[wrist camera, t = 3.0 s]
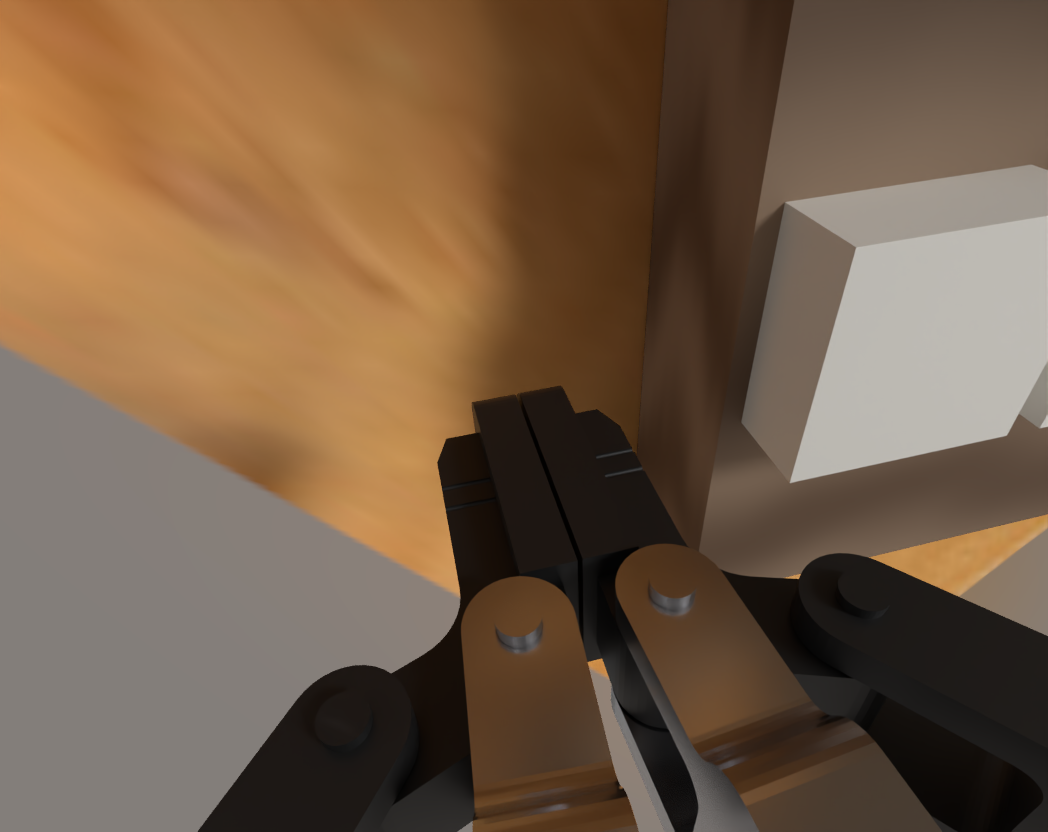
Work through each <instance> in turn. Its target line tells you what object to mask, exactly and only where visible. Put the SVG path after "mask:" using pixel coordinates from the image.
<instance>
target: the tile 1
mask: <svg viewBox="0 0 1048 832" xmlns="http://www.w3.org/2000/svg"><path fill="white" fill-rule="evenodd" d="M1047 361H1048V170H1046V169H1043V168H1040V167H1037V166H1034V165H1025V166H1019V167H1012V168H1006V169H999V170H993V171H986V172H979V173H973V174H966V175H960V176H953V177H947V178H940V179H934V180H927V181H920V182H914V183H907V184H901V185H894V186H888V187H881V188H874V189H868V190H861V191H855V192H848V193H842V194H835V195H828V196H822V197H815V198H809V199H802V200H796V201H789V202H785V205H784V210H783V215H782V220H781V225H780V230H779V235H778V240H777V245H776V250H775V255H774V260H773V265H772V270H771V275H770V280H769V285H768V290H767V295H766V300H765V305H764V310H763V315H762V321H761V326H760V331H759V336H758V341H757V346H756V351H755V356H754V361H753V366H752V371H751V376H750V381H749V386H748V391H747V396H746V401H745V406H744V411H743V416H742V421H741V423H742V424H743V425H744V426H745V428H746V429H747V430H748V431H749V433H750V434H751V435H752V436H753V438H754V439H755V440H756V441H757V443H758V444H759V445H760V447H761V448H762V449H763V450H764V452H765V453H766V454H767V455H768V457H769V458H770V459H771V460H772V462H773V463H774V464H775V465H776V467H777V468H778V469H779V470H780V472H781V473H782V474H783V475H784V477H785V478H786V479H787V480H788V482H789V483H793V482H797V481H802V480H806V479H811V478H815V477H820V476H825V475H829V474H834V473H838V472H843V471H847V470H852V469H857V468H861V467H866V466H870V465H875V464H879V463H884V462H889V461H893V460H898V459H902V458H907V457H911V456H916V455H921V454H925V453H930V452H934V451H939V450H943V449H948V448H953V447H957V446H962V445H966V444H971V443H975V442H980V441H985V440H989V439H994V438H998V437H1003V436H1007V434H1008V432H1009V431H1010V429H1011V427H1012V425H1013V423H1014V421H1015V420H1016V418H1017V416H1018V414H1019V412H1020V410H1021V409H1022V407H1023V405H1024V403H1025V401H1026V399H1027V398H1028V396H1029V394H1030V392H1031V390H1032V389H1033V387H1034V385H1035V383H1036V381H1037V379H1038V378H1039V376H1040V374H1041V372H1042V370H1043V368H1044V367H1045V365H1046V363H1047Z"/></svg>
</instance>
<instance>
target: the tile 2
mask: <svg viewBox="0 0 1048 832" xmlns="http://www.w3.org/2000/svg"><path fill="white" fill-rule="evenodd" d="M1019 414H1020V415H1022V416H1023V417H1024V418H1026V419H1027V420H1028V421H1030V422H1031V423H1033V424H1034V425H1035V426H1037V427H1038V428H1044V427H1048V361H1047V363H1046V365H1045V367H1044V368H1043V370H1042V372H1041V374H1040V376H1039V378H1038V379H1037V381H1036V383H1035V385H1034V387H1033V389H1032V390H1031V392H1030V394H1029V396H1028V398H1027V399H1026V401H1025V403H1024V405H1023V407H1022V409H1021V410H1020V412H1019Z"/></svg>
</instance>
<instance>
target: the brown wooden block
mask: <svg viewBox="0 0 1048 832" xmlns="http://www.w3.org/2000/svg"><path fill="white" fill-rule="evenodd" d="M1025 165H1034V166H1037V167H1040V168H1043V169H1046V170H1048V0H668V14H667V28H666V43H665V57H664V72H663V86H662V101H661V115H660V130H659V144H658V159H657V173H656V188H655V202H654V217H653V231H652V246H651V260H650V275H649V289H648V304H647V318H646V333H645V347H644V362H643V376H642V391H641V405H640V420H639V434H638V449H637V458H638V460H639V461H640V463H641V465H642V469H643V471H645V472H646V474H647V476H648V478H649V479H650V481H651V483H652V485H653V487H654V488H655V490H656V492H657V494H658V496H659V497H660V499H661V501H662V503H663V504H664V506H665V508H666V510H667V512H668V513H669V515H670V517H671V519H672V521H673V522H674V524H675V526H676V528H677V530H678V531H679V533H680V535H681V537H682V539H683V540H684V542H685V543H686V544H687V546H688V547H689V548H691V549H694V550H696V551H698V552H700V553H702V554H703V555H705V556H706V557H708V558H709V559H710V560H711V561H713V562H714V563H715V564H716V565H717V566H718V568H719V569H721V570H724V571H727V572H729V573H734V574H738V575H744V576H754V577H770V578H785V577H789V576H793V575H797V574H801V573H802V571H803V570H804V568H805V567H806V566H807V565H808V564H809V563H810V562H811V561H813V560H814V559H816V558H818V557H821V556H824V555H827V554H834V553H849V554H856V555H861V556H865V557H872V556H876V555H880V554H884V553H888V552H893V551H897V550H901V549H905V548H909V547H913V546H918V545H922V544H926V543H930V542H934V541H938V540H942V539H947V538H951V537H955V536H959V535H963V534H967V533H972V532H976V531H980V530H984V529H988V528H992V527H996V526H1001V525H1005V524H1009V523H1013V522H1017V521H1021V520H1026V519H1030V518H1034V517H1038V516H1042V515H1046V514H1048V427H1044V428H1038V427H1037V426H1035V425H1034V424H1033V423H1031V422H1030V421H1028V420H1027V419H1026V418H1024V417H1023V416H1022V415H1020V414H1018V416H1017V418H1016V420H1015V421H1014V423H1013V425H1012V427H1011V429H1010V431H1009V432H1008V434H1007V436H1003V437H998V438H994V439H989V440H985V441H980V442H975V443H971V444H966V445H962V446H957V447H953V448H948V449H943V450H939V451H934V452H930V453H925V454H921V455H916V456H911V457H907V458H902V459H898V460H893V461H889V462H884V463H879V464H875V465H870V466H866V467H861V468H857V469H852V470H847V471H843V472H838V473H834V474H829V475H825V476H820V477H815V478H811V479H806V480H802V481H797V482H793V483H789V482H788V480H787V479H786V478H785V477H784V475H783V474H782V473H781V472H780V470H779V469H778V468H777V467H776V465H775V464H774V463H773V462H772V460H771V459H770V458H769V457H768V455H767V454H766V453H765V452H764V450H763V449H762V448H761V447H760V445H759V444H758V443H757V441H756V440H755V439H754V438H753V436H752V435H751V434H750V433H749V431H748V430H747V429H746V428H745V426H744V425H743V424H742V423H741V421H742V416H743V411H744V406H745V401H746V396H747V391H748V386H749V381H750V376H751V371H752V366H753V361H754V356H755V351H756V346H757V341H758V336H759V331H760V326H761V321H762V315H763V310H764V305H765V300H766V295H767V290H768V285H769V280H770V275H771V270H772V265H773V260H774V255H775V250H776V245H777V240H778V235H779V230H780V225H781V220H782V215H783V210H784V205H785V202H789V201H796V200H802V199H809V198H815V197H822V196H828V195H835V194H842V193H848V192H855V191H861V190H868V189H874V188H881V187H888V186H894V185H901V184H907V183H914V182H920V181H927V180H934V179H940V178H947V177H953V176H960V175H966V174H973V173H979V172H986V171H993V170H999V169H1006V168H1012V167H1019V166H1025Z"/></svg>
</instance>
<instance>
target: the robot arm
mask: <svg viewBox="0 0 1048 832" xmlns="http://www.w3.org/2000/svg"><path fill="white" fill-rule="evenodd" d="M472 411H473V418H474V425H475V432H476V433H474V434H469V435H464V436H459V437H454V438H448V439H446V441H445V444H444V447H443V449H442V452H441V454H440V457H439V460H438V462H437V463H438V469H439V475H440V480H441V486H442V491H443V497H444V503H445V508H446V514H447V519H448V525H449V531H450V536H451V542H452V548H453V553H454V559H455V564H456V570H457V576H458V581H459V587H460V596H461V599H460V608H459V611H458V615H457V618H456V620H455V622H454V624H453V626H452V627H451V629H450V630H449V632H448V633H447V635H446V636H445V637H444V638H443V639H442V640H441V642H439V643H438V644H437V645H436V646H435V647H434V648H433V649H431V650H430V651H428V652H427V653H425V654H424V655H422V656H421V657H419V658H417V659H415V660H414V661H412V662H410V663H409V664H407V665H405V666H404V667H402V668H400V669H398V670H397V671H395V672H393V673H392V674H391V673H389V672H387V671H385V670H384V669H381V668H378V667H374V666H367V665H359V666H358V665H355V666H350V667H345V668H341V669H338V670H335V671H333V672H331V673H329V674H327V675H325V676H323V677H322V678H320V679H319V680H317V681H316V682H314V683H313V684H312V685H311V686H310V687H309V688H308V689H307V690H305V691H304V692H303V694H302V695H301V696H300V697H299V698H298V699H297V701H296V702H295V703H294V704H293V706H292V707H291V708H290V710H289V711H288V712H287V714H286V715H285V716H284V718H283V719H282V720H281V722H280V723H279V724H278V726H277V727H276V728H275V730H274V731H273V732H272V734H271V735H270V736H269V738H268V739H267V740H266V741H265V743H264V744H263V745H262V747H261V748H260V750H259V751H258V752H257V753H256V755H255V756H254V757H253V759H252V760H251V761H250V763H249V764H248V765H247V767H246V768H245V769H244V771H243V772H242V773H241V775H240V776H239V777H238V779H237V780H236V782H235V783H234V784H233V785H232V787H231V788H230V789H229V791H228V792H227V793H226V795H225V796H224V797H223V799H222V800H221V801H220V803H219V804H218V805H217V807H216V808H215V809H214V810H213V812H212V813H211V814H210V816H209V817H208V818H207V820H206V821H205V823H204V824H203V825H202V827H201V828H200V829H199V830H198V832H457V831H459V830H460V829H462V828H463V827H464V826H466V825H467V824H469V823H470V822H471V821H473V832H639V831H638V828H637V824H636V820H635V817H634V814H633V810H632V808H631V805H630V802H629V799H628V797H627V794H626V792H625V791H624V788H623V787H621V786H620V784H619V782H618V779H617V776H616V773H615V770H614V766H613V763H612V759H611V755H610V751H609V747H608V743H607V739H606V735H605V731H604V726H603V723H602V718H601V714H600V711H599V706H598V702H597V698H596V694H595V690H594V686H593V682H592V678H591V674H590V670H589V666H588V662H589V661H593V660H597V659H601V658H602V659H603V662H604V664H605V667H606V670H607V673H608V676H609V678H610V681H611V684H612V686H611V687H612V688H611V703H612V708H613V711H614V714H615V717H616V719H617V722H618V724H619V726H620V728H621V731H622V733H623V735H624V738H625V740H626V743H627V745H628V747H629V749H630V752H631V754H632V757H633V759H634V761H635V764H636V766H637V768H638V771H639V773H640V775H641V777H642V780H643V782H644V784H645V787H646V789H647V791H648V794H649V796H650V798H651V801H652V803H653V805H654V807H655V810H656V812H657V814H658V817H659V819H660V822H661V824H662V826H663V829H664V831H665V832H1048V636H1046V635H1044V634H1042V633H1039V632H1037V631H1034V630H1033V629H1030V628H1028V627H1026V626H1023V625H1021V624H1019V623H1017V622H1014V621H1012V620H1010V619H1008V618H1005V617H1003V616H1001V615H999V614H996V613H994V612H992V611H990V610H987V609H985V608H983V607H980V606H978V605H976V604H974V603H971V602H969V601H967V600H965V599H962V598H960V597H958V596H956V595H953V594H951V593H949V592H947V591H944V590H942V589H940V588H938V587H935V586H933V585H931V584H929V583H926V582H924V581H922V580H920V579H917V578H915V577H913V576H910V575H908V574H906V573H904V572H901V571H899V570H897V569H895V568H892V567H890V566H888V565H886V564H883V563H881V562H879V561H876V560H874V559H871V558H868V557H865V556H861V555H856V554H849V553H834V554H827V555H824V556H821V557H818V558H816V559H814V560H813V561H811V562H810V563H809V564H808V565H807V566H806V567H805V568H804V570H803V571H802V573H801V576H800V578H799V579H787V578H770V577H754V576H744V575H738V574H734V573H729V572H727V571H724V570H721V569H719V568H718V566H717V565H716V564H715V563H714V562H713V561H711V560H710V559H709V558H708V557H706V556H705V555H703V554H702V553H700V552H698V551H696V550H694V549H691V548H689V547H688V546H687V544H686V543H685V542H684V540H683V539H682V537H681V535H680V533H679V531H678V530H677V528H676V526H675V524H674V522H673V521H672V519H671V517H670V515H669V513H668V512H667V510H666V508H665V506H664V504H663V503H662V501H661V499H660V497H659V496H658V494H657V492H656V490H655V488H654V487H653V485H652V483H651V481H650V479H649V478H648V476H647V474H646V472H645V471H643V469H642V465H641V463H640V461H639V460H638V458H637V456H636V454H635V452H633V451H632V447H631V445H630V444H629V442H628V440H627V438H626V436H625V435H624V433H623V431H622V429H621V427H620V426H619V425H618V424H616V423H615V422H614V421H612V420H611V419H610V418H608V417H607V416H605V415H604V414H603V413H601V412H600V411H599V410H597V409H596V410H591V411H586V412H581V413H576V414H575V412H574V410H573V408H572V406H571V404H570V402H569V400H568V398H567V395H566V393H565V391H564V389H563V388H562V387H561V386H556V387H550V388H545V389H540V390H534V391H529V392H524V393H518V394H517V397H516V395H509V396H503V397H498V398H493V399H488V400H482V401H477V402H472Z"/></svg>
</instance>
